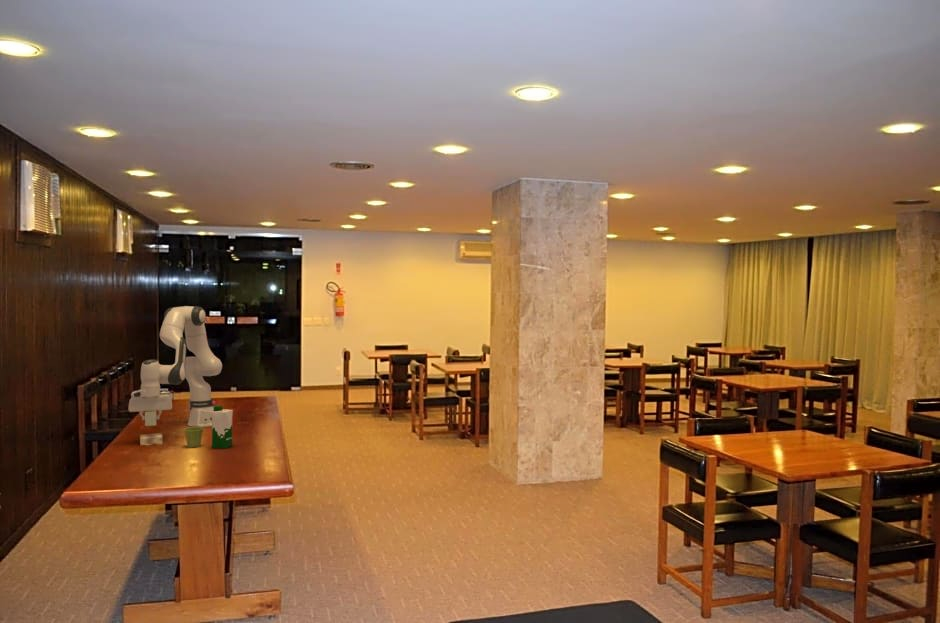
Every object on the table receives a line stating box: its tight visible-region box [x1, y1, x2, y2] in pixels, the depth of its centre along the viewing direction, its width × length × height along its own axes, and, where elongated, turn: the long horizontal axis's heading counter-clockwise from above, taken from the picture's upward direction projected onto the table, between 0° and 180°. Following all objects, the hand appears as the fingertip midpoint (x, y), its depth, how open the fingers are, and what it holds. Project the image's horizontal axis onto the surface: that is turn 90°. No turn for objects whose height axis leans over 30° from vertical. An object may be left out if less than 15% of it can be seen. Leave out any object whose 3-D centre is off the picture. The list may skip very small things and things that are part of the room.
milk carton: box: [211, 405, 234, 450], centre depth 348 cm, size 9×9×20 cm
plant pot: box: [183, 426, 205, 448], centre depth 350 cm, size 9×9×9 cm
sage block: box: [144, 411, 157, 427], centre depth 357 cm, size 5×5×7 cm
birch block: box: [139, 432, 164, 446], centre depth 358 cm, size 10×10×4 cm
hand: (150, 419), depth 357 cm, fingers closed on sage block, 5 cm apart
